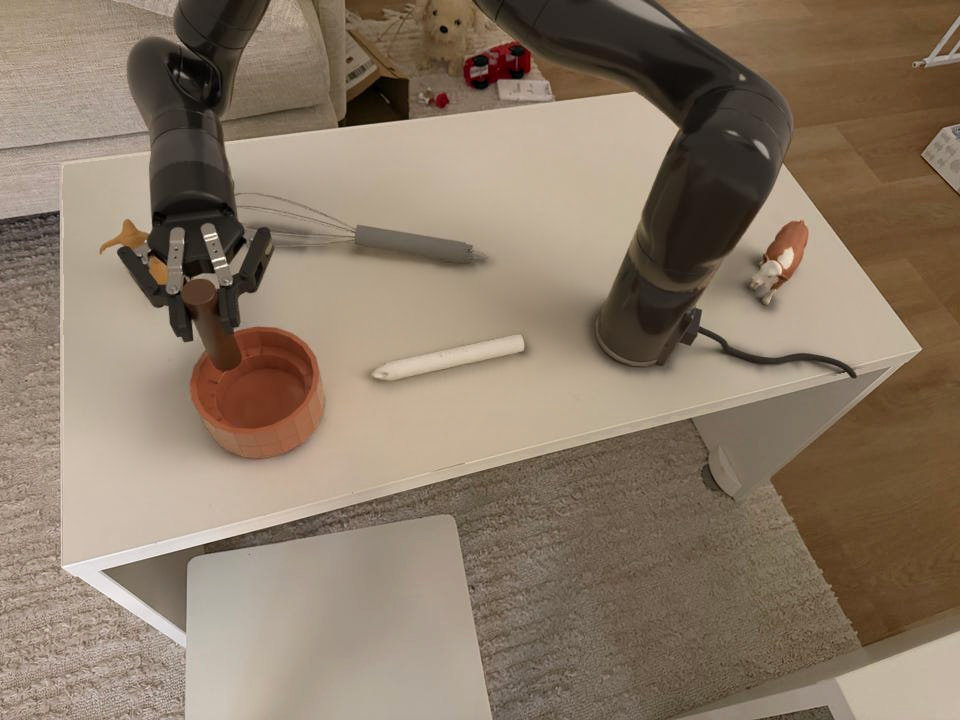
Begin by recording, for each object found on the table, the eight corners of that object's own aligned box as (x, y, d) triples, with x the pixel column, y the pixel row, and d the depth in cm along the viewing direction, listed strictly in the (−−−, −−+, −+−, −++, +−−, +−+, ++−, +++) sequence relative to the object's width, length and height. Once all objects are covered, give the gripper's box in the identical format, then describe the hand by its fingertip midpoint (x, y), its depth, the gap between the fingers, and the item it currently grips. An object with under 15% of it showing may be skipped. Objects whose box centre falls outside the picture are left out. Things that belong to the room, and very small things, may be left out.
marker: (373, 387, 74) (372, 377, 72) (369, 372, 75) (368, 361, 73) (522, 354, 79) (525, 343, 77) (517, 340, 80) (520, 329, 78)
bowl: (344, 379, 75) (339, 348, 69) (292, 477, 68) (282, 451, 63) (243, 345, 76) (231, 311, 70) (183, 437, 69) (164, 408, 64)
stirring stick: (224, 342, 66) (195, 273, 57) (248, 354, 66) (222, 286, 56) (206, 363, 65) (173, 295, 55) (229, 375, 64) (200, 309, 55)
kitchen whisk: (486, 281, 84) (491, 247, 79) (217, 250, 83) (204, 214, 77) (489, 244, 87) (494, 210, 82) (230, 215, 86) (218, 178, 81)
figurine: (196, 261, 81) (167, 189, 71) (200, 300, 78) (169, 230, 68) (124, 272, 80) (82, 199, 69) (124, 312, 77) (81, 242, 66)
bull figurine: (727, 305, 86) (755, 264, 79) (768, 246, 92) (797, 204, 85) (757, 323, 85) (788, 284, 78) (797, 262, 91) (829, 221, 84)
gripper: (99, 167, 60) (100, 322, 51) (259, 149, 63) (285, 292, 55) (128, 225, 66) (133, 371, 58) (272, 206, 69) (297, 342, 61)
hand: (207, 332), depth 56 cm, fingers closed on stirring stick, 2 cm apart
